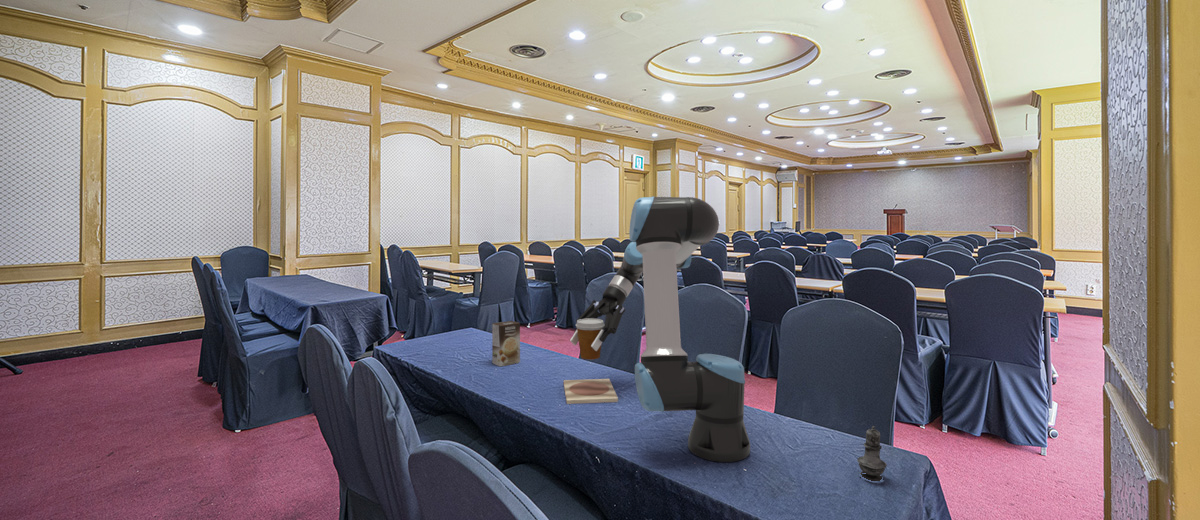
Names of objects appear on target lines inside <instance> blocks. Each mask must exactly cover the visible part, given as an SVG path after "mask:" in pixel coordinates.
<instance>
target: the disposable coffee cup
mask: <svg viewBox="0 0 1200 520" xmlns="http://www.w3.org/2000/svg"><path fill="white" fill-rule="evenodd" d="M576 320H577V319H576ZM604 325H605V321H604V320H603V319H601V318H596V319H594V318H586V319H580V320H577V322H576V324H575V327H576V329H577V332H578V340H579V341H578V347H579V353H580V358H581V359H583V360H588V361H590V360H597V359H599V358H601V350H602V344H601V345H600V347H599V349H598V350H597V351H595V350H594V349H593V348H592V347H591V345H592V343H593V342H594V340H595V339H596V337H597V336H598V334H599V332H600V331H601V329H602V330H604V329H603V328H604Z"/></svg>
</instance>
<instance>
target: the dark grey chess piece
mask: <svg viewBox="0 0 1200 520" xmlns="http://www.w3.org/2000/svg"><path fill="white" fill-rule="evenodd" d="M865 433H866V434H865V442H864V443H863V446H864V455H862V456H859V457H858V458H857V463H858V466H859V468H860V470H861V471H860V472H861V473H860V472H859V473H860V474H861V475H862V477H864V478H866V479H868V480H871V481H880V480H881V479H882V477H883V476H882V474H883V473H884V472H885V470H886V468H887V465H888V464H887V463H886V462H885V461H884V460H882V459H881V455H880V454H881V449H882V448H883V447H882V445H881V433H880V431H878V429H876V426H875V425H872V426H871V428H869V429H867V430H866V432H865ZM862 473H866V474H862ZM880 475H881V476H880Z"/></svg>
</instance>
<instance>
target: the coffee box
mask: <svg viewBox="0 0 1200 520" xmlns="http://www.w3.org/2000/svg"><path fill="white" fill-rule="evenodd" d="M491 330H492V339H491V340H492V343H491V344H492V348H491V349H492V352H491V353H492V355H491V356H492V358H491V361H492V365H494V366H495V365H496V366H497V367H505V366H510V365H516V364H519V362H520V363H521V322H518V321H515V320H514V321H513V320H508V321H500V322H499V321H498V322H492V329H491ZM515 363H516V364H515Z"/></svg>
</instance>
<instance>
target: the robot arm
mask: <svg viewBox="0 0 1200 520" xmlns="http://www.w3.org/2000/svg"><path fill="white" fill-rule="evenodd" d="M719 220H720V219H719V216H718V214H717V212H716V210H715V209H714V208H713V206H712V205H710V204H709V203H708V202H706V201H705V200H703V199H700V198H699V197H698V198H697V197H694V196H686V197H682V196H676V197H675V196H653V195H651V196H648V197H647V196H646V197H638V198H637V199H636V200H635V201H634V203H633V206H632V209H631V215H630V222H629V229H628V230H629V231H628V232H629V235H628V236H629V241H630V242H629V244H627V247H626V249H625V250H624V252H623V258H622V262H621V264H620V267H619V268H618V270H617V272H616V274H615V275H614V276H613V278H612V279H611V280H610V282H609V284H608V286H607V287H606V288H605V289H604V291H603V293H602V298H601V300H599V301H596V300H595V299H593V300H592V301H591V303H590V305H589V306H588V307H587V308H586V310H584V312H582V314H581V315H580V316H579V317H578V318H577V319H576V321H575V322H576V323H577V320H580V319H586V318H594V319H599V318H600V317H602V316H605V317H604V319H605V320H604V324H605V325H604V328H603V330H602V329H601V331H600V332H599V334H598V336H597V337H596V339H595V340H594V342H593V343H592V345H591V347H592V348H593V349H594V350H595V351H597V350H598V349H599V347H600V345H601V346H602V344H603V343H604V342H605V341H606V340H607V338H608V336H610V334H613V335H614V334H616V332H617V331H618V330H617V329H618V327H619V324H620V323H621V322H620V321H621V318H622V316H623V315H624V313H625V312H626V309H625V307H624V306H623V304H624V303H625V301H626V299H627V297H629V295H630V293H631V291H632V290H633V289H634V287H635V285H636V284H637V281H638V280H639V278H640V277H641V276H643V299H644V303H643V304H644V321H645V324H644V325H645V342H646V343H645V345H646V347H645V348H646V349H645V350H644V351H643V352H642V354H640V362H637V363H635V365H634V380H635V381H634V382H635V387H636V392H637V397H638V400H639V402H640V405H641V406H642V408H643V409H644V410H645V411H647V412H660V413H665V412H680V411H681V412H682V411H683V412H684V411H695V417H694V421H693V423H692V427H691V429H690V432H689V435H688V439H687V447H688V448H687V449H688V450H689V451H690V452H691V453H692V454H693V455H695V456H696V457H698V458H701V459H704V460H706V461H713V462H717V463H718V462H719V463H732V462H739V461H742V460H745V459H746V458H747V457H749V455H750V454H751V453H750V452H751V442H750V441H751V440H750V438H749V435H748V433H747V432H748V431H747V428H746V425H745V422H744V416H745V415H744V409H745V385H746V379H745V378H746V377H745V367H744V366H743V364H742V363H741V362H740V361H738V360H737V359H735V358H732V357H730V356H725V355H720V354H715V353H714V354H713V353H702V354H701V353H700V354H698V355H697V356H696V358H695V360H696V361H689V356H688V353H687V352H686V351H685V350H684V349H683V348H682V341H681V340H682V339H681V325H680V322H681V321H680V309H679V307H680V306H679V305H680V304H679V290H678V289H679V288H678V271H677V270H682V269H688V268H689V267H690V266H691V263H692V255H693V253H694V252H695V251H696V250H698V249H699V248H700V247H701V246H702V245H706V244H708V243H710V242H711V241H712V240H713V239H714V238H715V237H716V235H717V234H718V232H719V227H720V221H719ZM642 274H643V275H642ZM569 342H571V344H572V345H573V346H577V344H579V340H578V332H577V328H576V329H575V330H574V333H573V335H572V336H571V338H570V339H569Z"/></svg>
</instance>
